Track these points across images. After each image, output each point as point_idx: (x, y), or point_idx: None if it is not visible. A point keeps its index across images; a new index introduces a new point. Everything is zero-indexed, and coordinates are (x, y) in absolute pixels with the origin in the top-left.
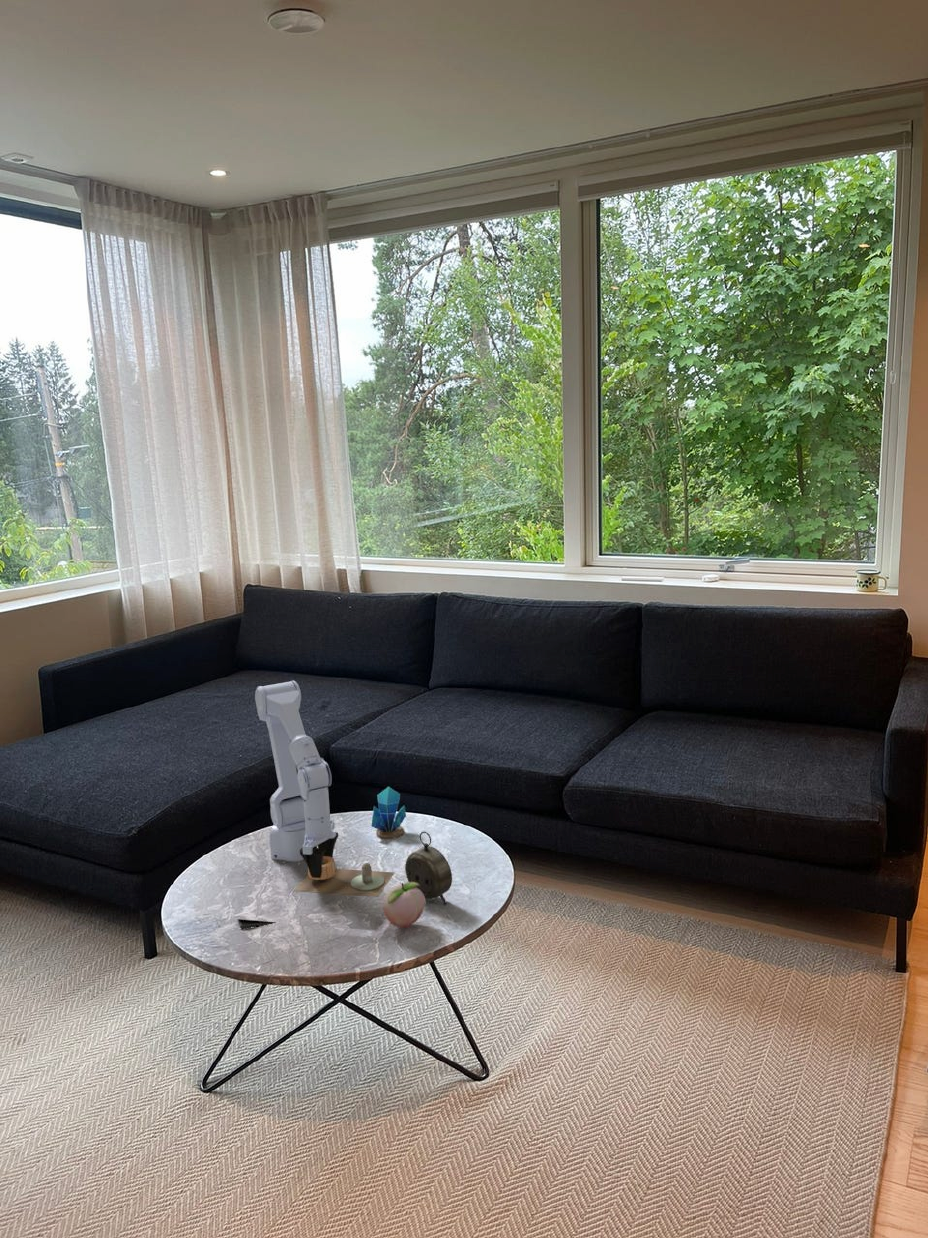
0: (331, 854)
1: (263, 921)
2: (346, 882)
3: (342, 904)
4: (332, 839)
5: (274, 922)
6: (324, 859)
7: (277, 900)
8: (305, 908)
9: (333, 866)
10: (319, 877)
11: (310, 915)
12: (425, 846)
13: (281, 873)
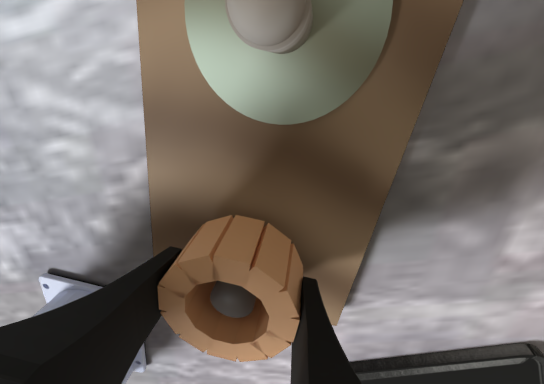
0: (147, 281)
1: (537, 381)
2: (275, 147)
3: (454, 133)
4: (60, 371)
5: (539, 350)
6: (187, 297)
7: (361, 346)
8: (447, 272)
9: (237, 243)
10: (316, 282)
11: (522, 251)
12: None
13: (187, 344)
